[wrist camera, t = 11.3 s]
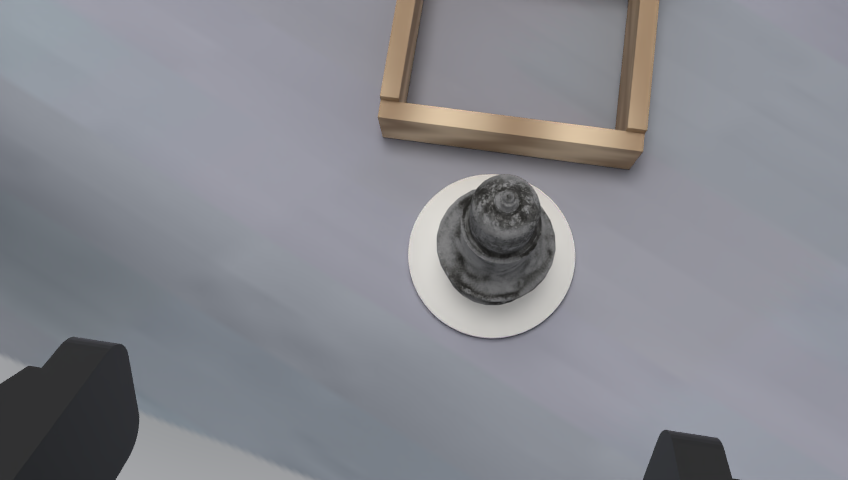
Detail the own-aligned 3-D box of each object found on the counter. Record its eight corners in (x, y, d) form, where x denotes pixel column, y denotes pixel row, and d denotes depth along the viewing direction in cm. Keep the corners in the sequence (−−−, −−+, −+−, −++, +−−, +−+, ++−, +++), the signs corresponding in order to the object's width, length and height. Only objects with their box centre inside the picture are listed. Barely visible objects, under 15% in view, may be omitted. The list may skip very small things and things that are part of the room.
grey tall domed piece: (503, 333, 39) (526, 302, 27) (415, 267, 40) (401, 209, 28) (568, 246, 40) (617, 180, 28) (480, 183, 41) (492, 94, 29)
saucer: (396, 325, 40) (396, 324, 39) (422, 167, 42) (421, 164, 41) (563, 350, 39) (565, 349, 39) (581, 189, 41) (583, 185, 40)
